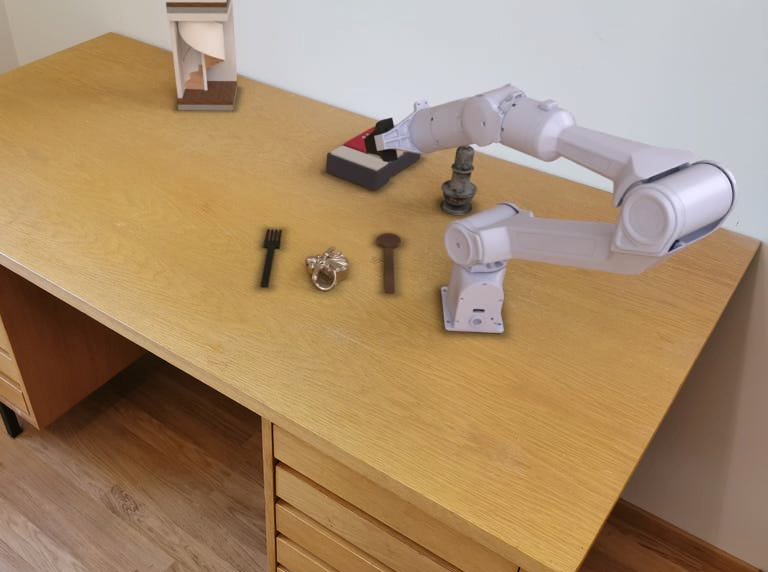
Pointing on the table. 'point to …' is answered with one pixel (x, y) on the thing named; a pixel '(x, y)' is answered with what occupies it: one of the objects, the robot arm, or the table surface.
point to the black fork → (270, 254)
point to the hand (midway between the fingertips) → (388, 139)
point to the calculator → (366, 163)
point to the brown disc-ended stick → (389, 258)
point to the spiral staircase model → (203, 53)
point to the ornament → (327, 268)
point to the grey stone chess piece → (460, 184)
